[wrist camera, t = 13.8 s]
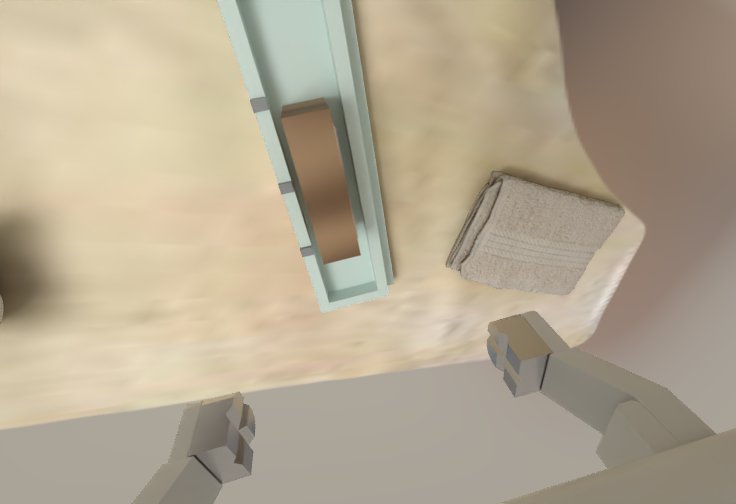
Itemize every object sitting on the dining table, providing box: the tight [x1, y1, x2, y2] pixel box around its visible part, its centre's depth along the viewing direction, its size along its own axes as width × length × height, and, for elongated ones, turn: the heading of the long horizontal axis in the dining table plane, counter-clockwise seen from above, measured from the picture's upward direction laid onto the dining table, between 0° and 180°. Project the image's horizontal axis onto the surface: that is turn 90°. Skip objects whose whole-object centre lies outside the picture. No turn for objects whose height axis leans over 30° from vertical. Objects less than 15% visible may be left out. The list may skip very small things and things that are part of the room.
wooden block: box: [281, 97, 361, 264], centre depth 25 cm, size 11×3×5 cm, turn 10°
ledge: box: [217, 0, 394, 313], centre depth 27 cm, size 27×8×3 cm, turn 10°
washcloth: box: [446, 171, 625, 295], centre depth 35 cm, size 12×18×3 cm, turn 74°
